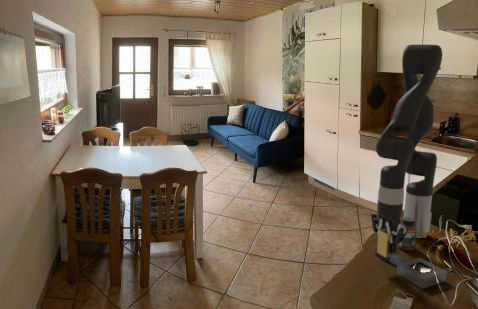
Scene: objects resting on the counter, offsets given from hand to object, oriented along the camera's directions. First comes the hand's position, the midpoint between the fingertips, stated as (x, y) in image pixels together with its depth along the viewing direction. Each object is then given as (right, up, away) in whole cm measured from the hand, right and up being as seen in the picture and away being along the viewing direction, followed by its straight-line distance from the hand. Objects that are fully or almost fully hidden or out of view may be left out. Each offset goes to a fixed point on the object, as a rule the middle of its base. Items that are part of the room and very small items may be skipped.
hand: (386, 249), depth 127 cm
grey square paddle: (+7, -7, +2) cm, 10 cm away
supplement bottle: (+13, -4, +17) cm, 22 cm away
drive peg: (0, -2, 0) cm, 2 cm away
